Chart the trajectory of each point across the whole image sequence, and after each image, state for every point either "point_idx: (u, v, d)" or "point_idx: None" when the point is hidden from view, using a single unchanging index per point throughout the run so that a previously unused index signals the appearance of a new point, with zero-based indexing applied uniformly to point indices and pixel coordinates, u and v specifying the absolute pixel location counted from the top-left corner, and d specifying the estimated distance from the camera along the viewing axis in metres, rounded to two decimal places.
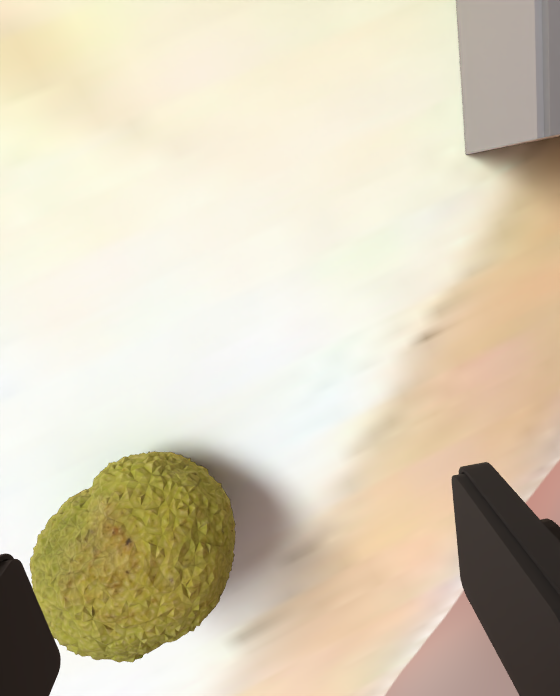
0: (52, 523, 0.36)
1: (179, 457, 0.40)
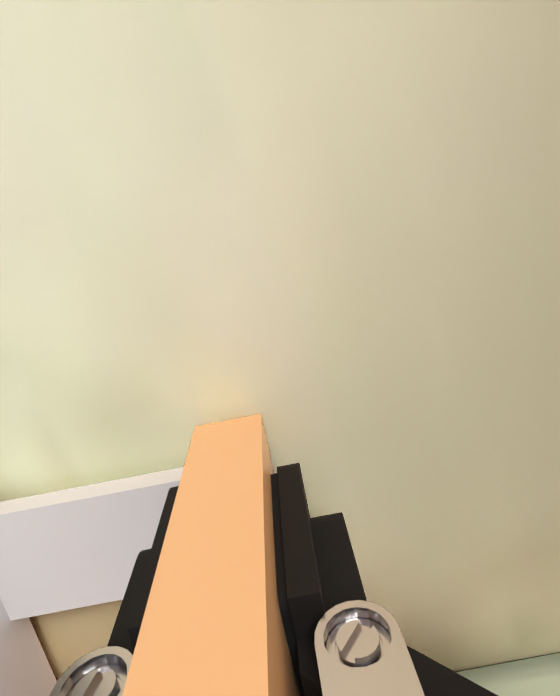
0: None
1: None
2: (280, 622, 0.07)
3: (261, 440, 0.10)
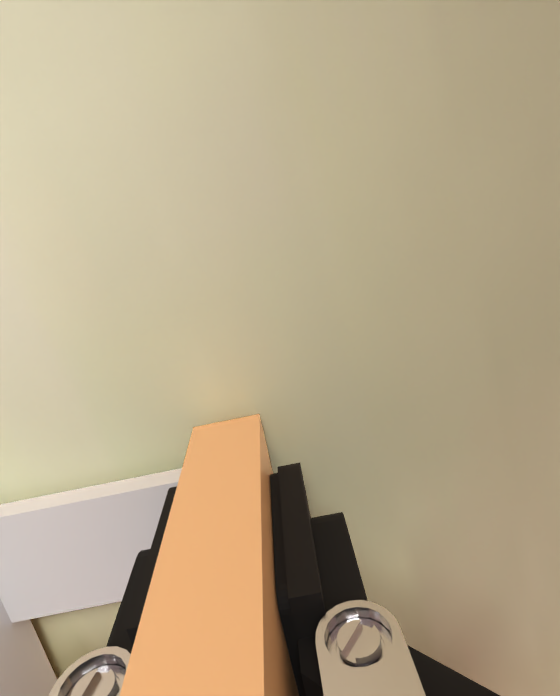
0: None
1: None
2: (278, 623, 0.07)
3: (259, 441, 0.10)
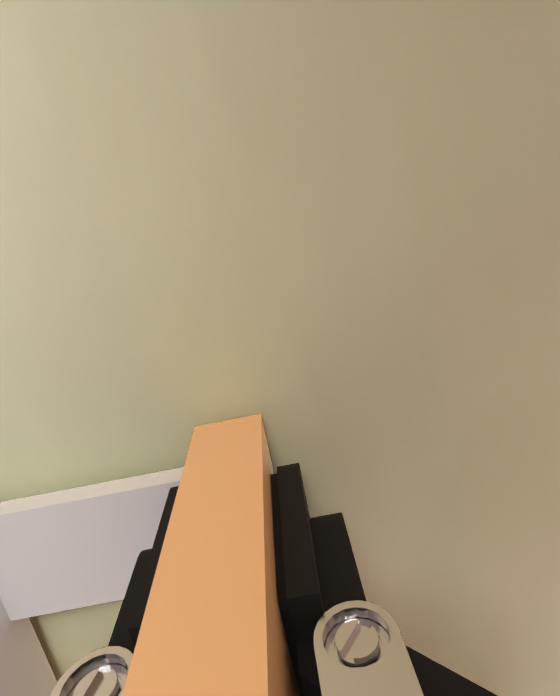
0: None
1: None
2: (280, 622, 0.07)
3: (261, 440, 0.10)
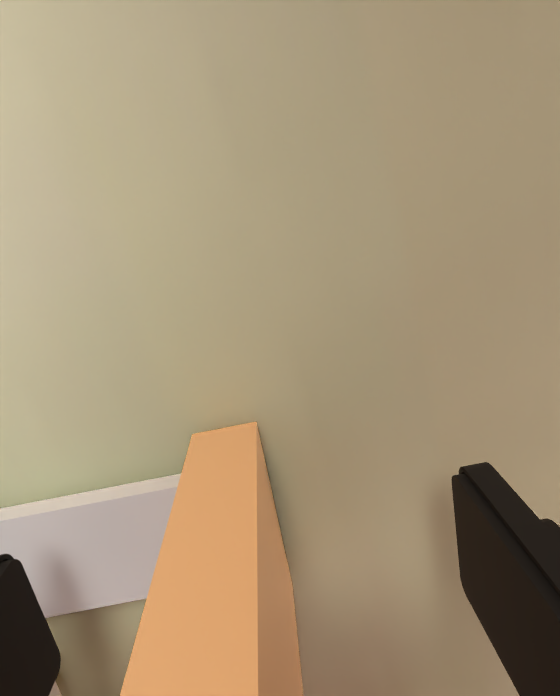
0: None
1: None
2: (272, 623, 0.08)
3: (256, 447, 0.11)
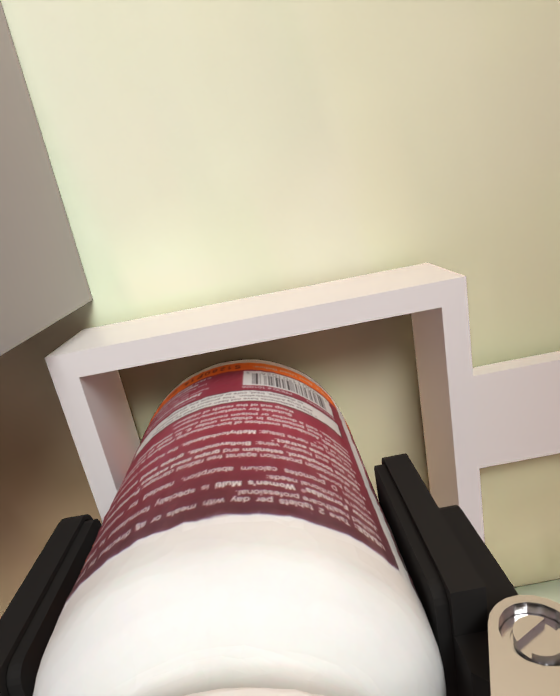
0: None
1: None
2: None
3: None
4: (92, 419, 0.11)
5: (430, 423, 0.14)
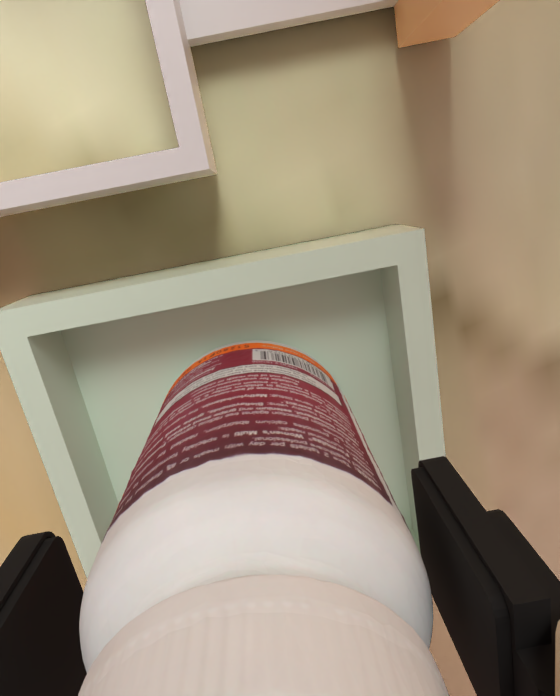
0: None
1: None
2: None
3: None
4: None
5: None
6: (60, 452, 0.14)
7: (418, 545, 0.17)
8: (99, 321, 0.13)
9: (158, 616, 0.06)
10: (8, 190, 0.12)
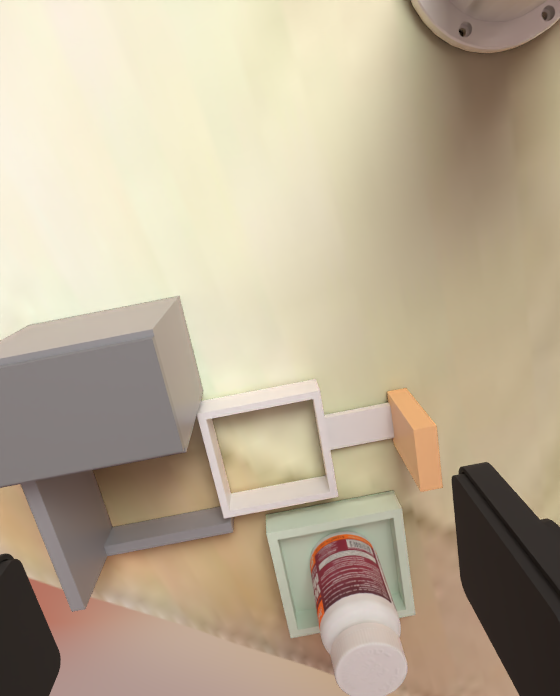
0: None
1: None
2: None
3: (410, 394, 0.38)
4: (208, 431, 0.37)
5: (318, 432, 0.40)
6: (282, 573, 0.42)
7: (401, 599, 0.45)
8: (300, 535, 0.41)
9: (350, 630, 0.34)
10: (280, 503, 0.39)
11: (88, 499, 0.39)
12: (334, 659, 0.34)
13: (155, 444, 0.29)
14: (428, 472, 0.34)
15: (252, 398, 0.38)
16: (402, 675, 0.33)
